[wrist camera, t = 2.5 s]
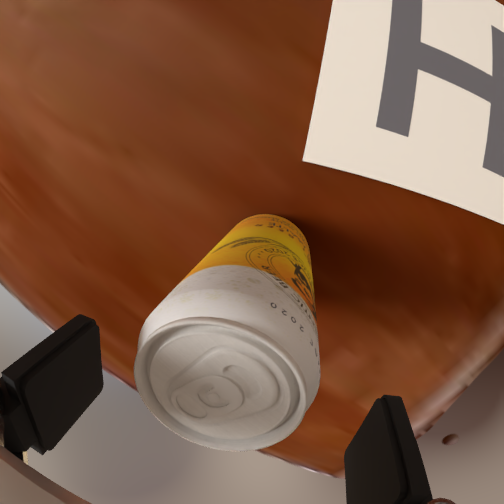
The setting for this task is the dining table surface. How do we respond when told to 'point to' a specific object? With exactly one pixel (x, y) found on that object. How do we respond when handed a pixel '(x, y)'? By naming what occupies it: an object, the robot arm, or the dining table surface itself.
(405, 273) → the dining table surface
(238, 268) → the beer can
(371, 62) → the letter board
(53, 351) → the robot arm
